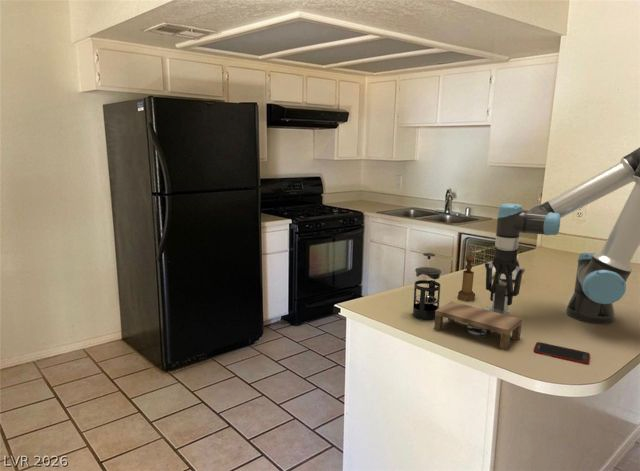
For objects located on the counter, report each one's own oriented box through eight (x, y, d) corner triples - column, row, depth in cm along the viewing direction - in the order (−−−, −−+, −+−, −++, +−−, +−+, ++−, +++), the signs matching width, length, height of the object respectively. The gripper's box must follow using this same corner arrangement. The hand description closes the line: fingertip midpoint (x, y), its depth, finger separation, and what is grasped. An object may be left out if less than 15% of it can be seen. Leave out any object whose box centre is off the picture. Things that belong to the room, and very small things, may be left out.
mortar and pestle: (475, 302, 183) (479, 257, 180) (458, 300, 184) (461, 256, 181) (473, 296, 190) (477, 253, 186) (457, 295, 191) (460, 252, 187)
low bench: (520, 338, 151) (522, 319, 149) (506, 350, 142) (508, 330, 141) (450, 318, 166) (451, 301, 165) (434, 328, 157) (435, 310, 156)
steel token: (488, 333, 154) (489, 328, 154) (481, 339, 150) (481, 333, 150) (471, 328, 158) (471, 323, 158) (463, 334, 154) (463, 328, 153)
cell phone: (588, 366, 133) (589, 363, 133) (532, 353, 141) (532, 350, 141) (590, 355, 140) (590, 352, 139) (536, 344, 147) (536, 341, 147)
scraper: (512, 317, 168) (515, 285, 166) (491, 332, 154) (494, 298, 152) (490, 311, 173) (493, 280, 171) (468, 326, 159) (470, 292, 157)
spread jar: (520, 283, 207) (523, 258, 205) (494, 283, 207) (496, 257, 205) (510, 275, 219) (512, 251, 216) (485, 275, 219) (487, 251, 216)
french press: (433, 323, 162) (437, 258, 157) (407, 317, 167) (410, 254, 162) (443, 312, 172) (448, 251, 167) (419, 307, 176) (422, 248, 172)
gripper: (534, 250, 161) (527, 314, 166) (487, 242, 172) (482, 303, 177) (527, 254, 156) (519, 320, 161) (478, 245, 167) (473, 308, 172)
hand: (500, 311), depth 169 cm, fingers closed on scraper, 3 cm apart
